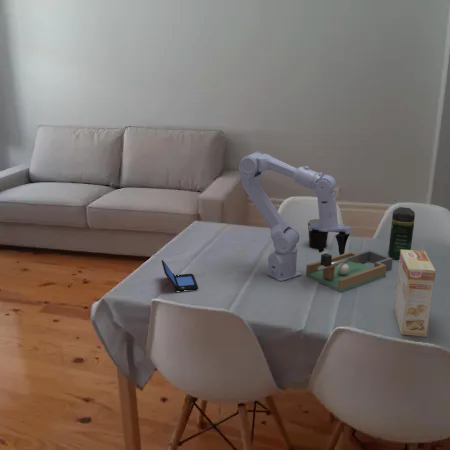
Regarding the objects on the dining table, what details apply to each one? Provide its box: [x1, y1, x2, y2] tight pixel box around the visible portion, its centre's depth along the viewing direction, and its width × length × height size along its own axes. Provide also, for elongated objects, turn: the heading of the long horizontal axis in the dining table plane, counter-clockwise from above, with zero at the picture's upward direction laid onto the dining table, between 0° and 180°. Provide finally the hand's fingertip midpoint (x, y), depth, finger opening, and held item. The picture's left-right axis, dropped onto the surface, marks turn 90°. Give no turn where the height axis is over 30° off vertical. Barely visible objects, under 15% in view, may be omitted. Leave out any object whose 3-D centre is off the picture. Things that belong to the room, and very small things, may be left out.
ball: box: [337, 263, 349, 275], centre depth 176 cm, size 4×4×4 cm
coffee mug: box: [307, 218, 329, 250], centre depth 205 cm, size 12×9×10 cm
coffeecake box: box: [393, 249, 437, 337], centre depth 144 cm, size 15×7×20 cm, turn 170°
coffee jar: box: [387, 206, 416, 261], centre depth 192 cm, size 10×8×19 cm
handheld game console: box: [161, 259, 199, 292], centre depth 171 cm, size 12×11×7 cm
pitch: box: [305, 249, 394, 293], centre depth 179 cm, size 29×16×4 cm, turn 125°
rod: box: [317, 252, 361, 280], centre depth 174 cm, size 20×3×8 cm, turn 125°
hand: (331, 252), depth 170 cm, fingers open, 7 cm apart
